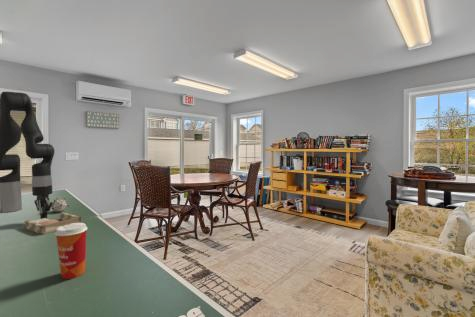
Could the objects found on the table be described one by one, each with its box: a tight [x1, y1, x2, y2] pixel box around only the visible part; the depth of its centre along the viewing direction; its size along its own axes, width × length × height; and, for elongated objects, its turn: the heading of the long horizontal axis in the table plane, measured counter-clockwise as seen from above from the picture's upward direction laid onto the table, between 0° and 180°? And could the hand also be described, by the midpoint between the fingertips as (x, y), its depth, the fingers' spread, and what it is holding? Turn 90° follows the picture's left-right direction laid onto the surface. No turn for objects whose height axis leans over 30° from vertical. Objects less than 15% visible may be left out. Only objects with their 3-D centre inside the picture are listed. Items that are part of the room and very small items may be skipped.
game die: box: [51, 197, 70, 214], centre depth 134 cm, size 9×8×10 cm
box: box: [24, 211, 82, 235], centre depth 110 cm, size 17×15×4 cm
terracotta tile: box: [39, 218, 60, 225], centre depth 108 cm, size 6×6×3 cm
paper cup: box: [54, 222, 88, 280], centre depth 68 cm, size 8×8×14 cm
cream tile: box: [32, 217, 50, 223], centre depth 110 cm, size 6×6×3 cm
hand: (44, 219), depth 115 cm, fingers closed
